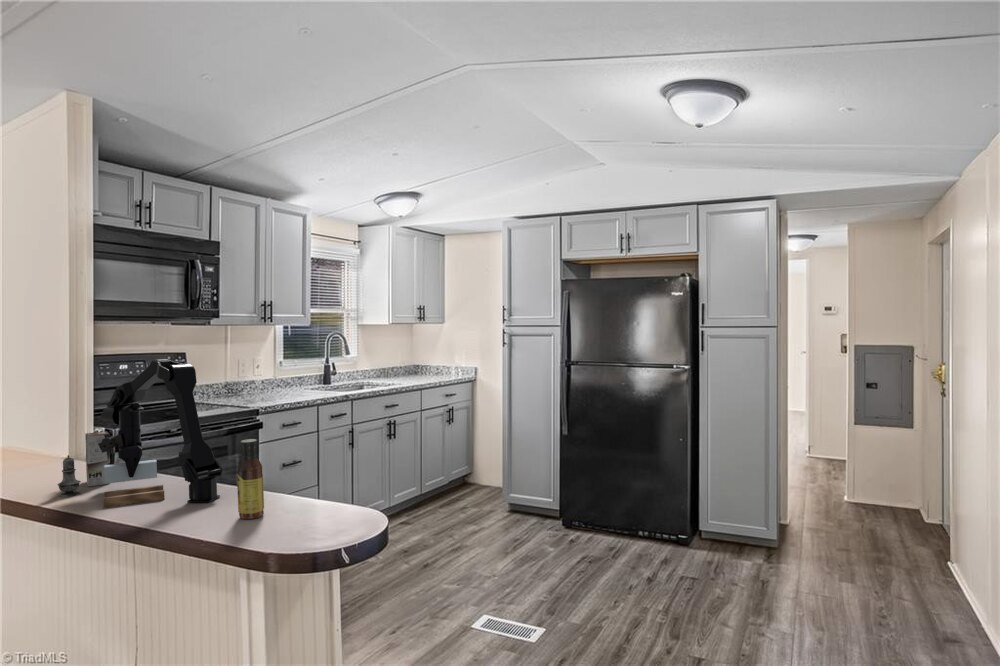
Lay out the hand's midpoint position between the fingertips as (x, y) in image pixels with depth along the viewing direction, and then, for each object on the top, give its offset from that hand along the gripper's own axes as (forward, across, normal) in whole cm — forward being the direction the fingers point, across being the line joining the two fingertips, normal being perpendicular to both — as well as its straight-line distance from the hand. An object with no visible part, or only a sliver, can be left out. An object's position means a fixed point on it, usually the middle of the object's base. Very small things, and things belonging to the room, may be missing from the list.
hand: (131, 475), depth 200 cm
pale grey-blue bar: (+1, 0, 0) cm, 1 cm away
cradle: (+4, +16, +1) cm, 17 cm away
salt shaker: (+4, -3, -16) cm, 17 cm away
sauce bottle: (+4, +54, +27) cm, 61 cm away
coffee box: (+4, -16, -9) cm, 19 cm away
